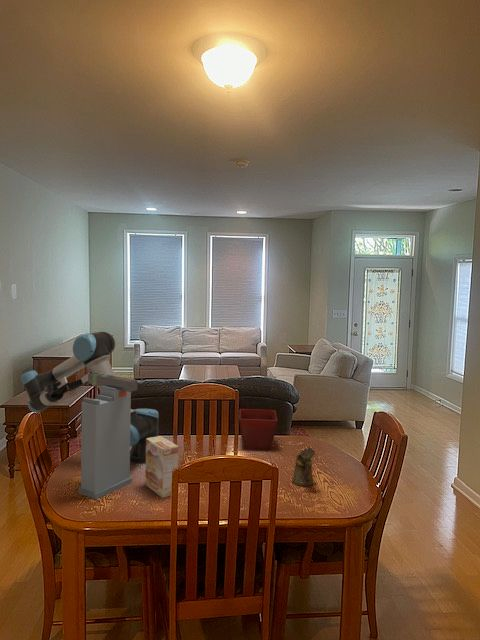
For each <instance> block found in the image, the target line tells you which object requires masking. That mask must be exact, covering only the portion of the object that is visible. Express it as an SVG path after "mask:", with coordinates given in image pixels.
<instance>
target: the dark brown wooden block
mask: <svg viewBox="0 0 480 640" xmlns="http://www.w3.org/2000/svg"><path fill="white" fill-rule="evenodd" d="M87 374H88V373H87ZM87 384H88V385H92V386H93V385H94V386H97V387H98V386H105V387H110V388H115V389H118V390H123V391H128V392H131V393H132V392H135V391H138V379H133V378H127V377H121V376H118V375H117V376H116V375H115V376H111V375H105V374H103V373H92V372H91V374H88V381H87Z"/></svg>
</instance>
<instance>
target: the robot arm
mask: <svg viewBox="0 0 480 640" xmlns="http://www.w3.org/2000/svg"><path fill="white" fill-rule="evenodd" d="M115 348H116V340H115V338H114V336H113V335H112V334H111V333H109V332H107V331H97V332H91V333H90V332H88V333H83V334H80V335H78V336H77V337H76V338H75V340H74V341H73V345H72V353H73V355H72V356H70V358H68V359H65V361H62V363H60V364H58V365H57V366H55V367H54V368H52V369H50V370H49V371H46V372H43V373H38V372H37V371H36V370H29V371H27V372H25V373H23V374H22V375H21V377H20V379H21V382H22V385H23V387H24V389H25V391H26V394H27V395H28V398H29V401H28V405H27V407H28V409H29V411H31V412H32V413H34V412H37V413H36V414H38V413H41V412H42V411H45V410H46V409H48V408H49V407H50V406H51V407H53V405H54V404H55V403H56V402H58V401H61V400H62V399H63V398H64V394H66V393H68V392H72V391H74V390H76V389H78V388H80V387H82V386H84V385H86V384H88V374H92V373H103V374H105V375H111V376H116V374H115V372H114V370H113V368H112V366H111V363H110V361H109V360H110V356H111V355H110V354H112V353H113V351H115ZM83 368H87V369H90V371H91V372H88V373H86V374H85V375H83V376H81V377H80V378H79V379H78V380H75V381H72V382H68V380H67V379H68V378H69V377H71V376H72V375H74V374H75V373H77V372H78V371H80V370H83ZM97 387H98V389H99V390H100V388H101V386H98V385H97ZM159 416H160V415H159V411H158V410H157V409H153V408H136V409H134V408H133V409H132V408H131V417H130V462H134V463H137V464H146V438H150V437H157V436H159V424H160V422H159V419H160V417H159Z"/></svg>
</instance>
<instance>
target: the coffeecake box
mask: <svg viewBox="0 0 480 640" xmlns="http://www.w3.org/2000/svg"><path fill="white" fill-rule="evenodd" d="M177 467H178V468H179V446H178V445H177V444H175V443H174V442H172V441H170V440H168V439H167V438H165V437H163V436H162V435H158V436H157V437H150V438H146V463H145V479H144V480H145V481H144V483H145V484H144V485H145V486H146V487H148V488H149V489H150V490H152V491H153V492H154V493H155V494H157V495H158V496H159V497H160V498H162V499H163V497H164V498H167V497H171V496H172V495H171V483H172V471H173V469H175V468H177Z"/></svg>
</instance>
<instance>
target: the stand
mask: <svg viewBox="0 0 480 640" xmlns="http://www.w3.org/2000/svg"><path fill="white" fill-rule="evenodd" d="M131 398H132V391H131V392H128V391H123V390H118V389H115V388H110V387H105V386H101V388H100V389H99V394H96V398H89V397H86V396H85V397H83V399H82V402H81V438H80V439H81V442H80V443H81V444H80V445H81V448H80V450H81V451H80V452H81V453H80V456H81V457H80V458H81V461H80V463H81V464H80V469H81V470H80V473H81V474H80V479H81V480H80V487H78V488H77V489H78V490H77V491H78V494H80V495H83V496H86V497H88V498H90V499H94V500H98V499H100V498H103V497H104V496H107V495H109V494H111V493H113V492H115V491H117V490H119V489H122V488H124V487H126V486H127V485H131V484H132V483H133V477H131V472H130V471H131V469H130V468H131V467H130V466H131V465H130V464H131V460H130V450H131V446H130V417H131V409H132V408H131V406H132V405H131V404H132V403H131V402H132V400H131Z"/></svg>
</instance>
